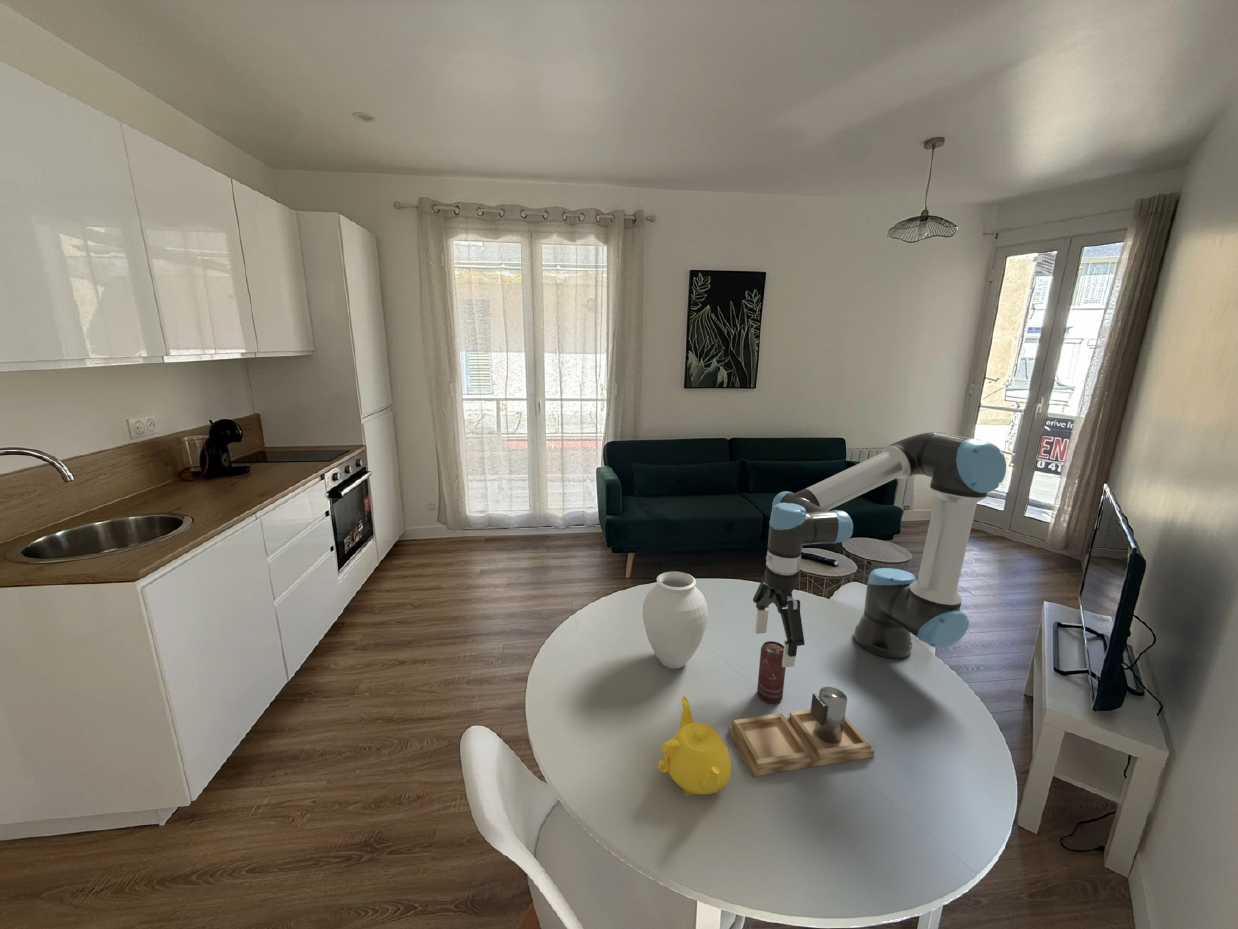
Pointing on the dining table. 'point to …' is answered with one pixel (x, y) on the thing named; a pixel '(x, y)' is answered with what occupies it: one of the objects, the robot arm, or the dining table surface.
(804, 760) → the tray
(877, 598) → the robot arm
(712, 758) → the teapot
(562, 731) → the dining table surface
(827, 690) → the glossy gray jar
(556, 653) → the dining table surface
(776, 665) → the can
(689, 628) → the vase
